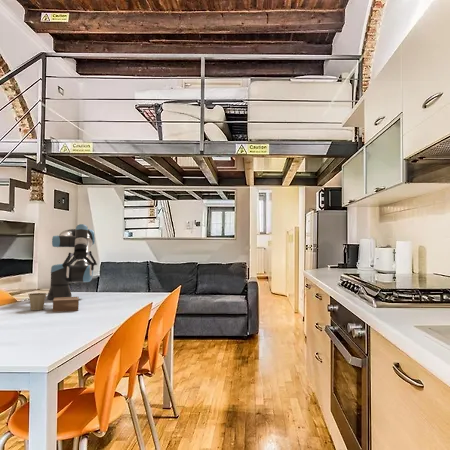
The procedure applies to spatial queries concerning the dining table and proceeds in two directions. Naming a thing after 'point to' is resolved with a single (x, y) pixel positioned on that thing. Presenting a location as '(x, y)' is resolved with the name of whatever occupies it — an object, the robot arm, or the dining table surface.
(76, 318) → the dining table surface
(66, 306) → the walnut block
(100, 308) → the dining table surface
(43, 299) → the flower pot
